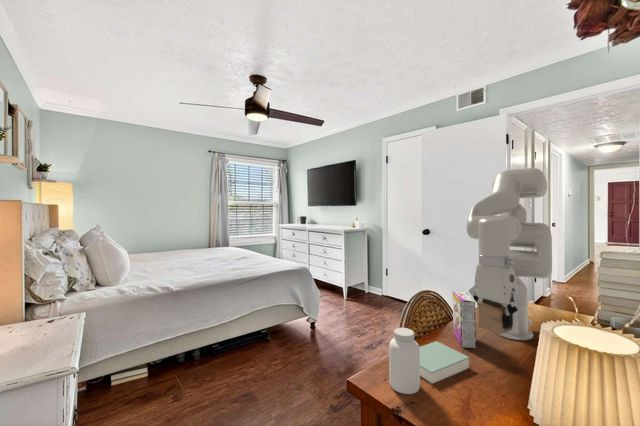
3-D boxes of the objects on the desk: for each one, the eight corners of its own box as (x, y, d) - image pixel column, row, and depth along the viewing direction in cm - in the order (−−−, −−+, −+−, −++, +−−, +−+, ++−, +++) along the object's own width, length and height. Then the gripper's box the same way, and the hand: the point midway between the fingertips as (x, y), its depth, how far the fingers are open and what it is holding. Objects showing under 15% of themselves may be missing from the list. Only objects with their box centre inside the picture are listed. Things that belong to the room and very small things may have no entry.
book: (400, 364, 89) (400, 353, 89) (436, 351, 96) (436, 341, 96) (431, 384, 78) (431, 372, 78) (469, 368, 86) (469, 357, 85)
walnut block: (491, 321, 86) (490, 298, 86) (512, 329, 81) (512, 304, 80) (478, 326, 83) (477, 302, 83) (499, 334, 78) (499, 309, 77)
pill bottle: (416, 399, 72) (415, 340, 72) (385, 389, 76) (384, 333, 76) (423, 382, 79) (422, 328, 79) (394, 374, 83) (393, 323, 83)
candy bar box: (452, 333, 109) (451, 291, 108) (466, 334, 108) (466, 291, 107) (460, 348, 98) (460, 300, 97) (476, 349, 97) (476, 301, 96)
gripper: (535, 264, 75) (536, 331, 76) (474, 255, 91) (475, 311, 91) (519, 268, 72) (520, 338, 72) (458, 258, 87) (459, 316, 88)
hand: (495, 322), depth 82 cm, fingers closed on walnut block, 6 cm apart
